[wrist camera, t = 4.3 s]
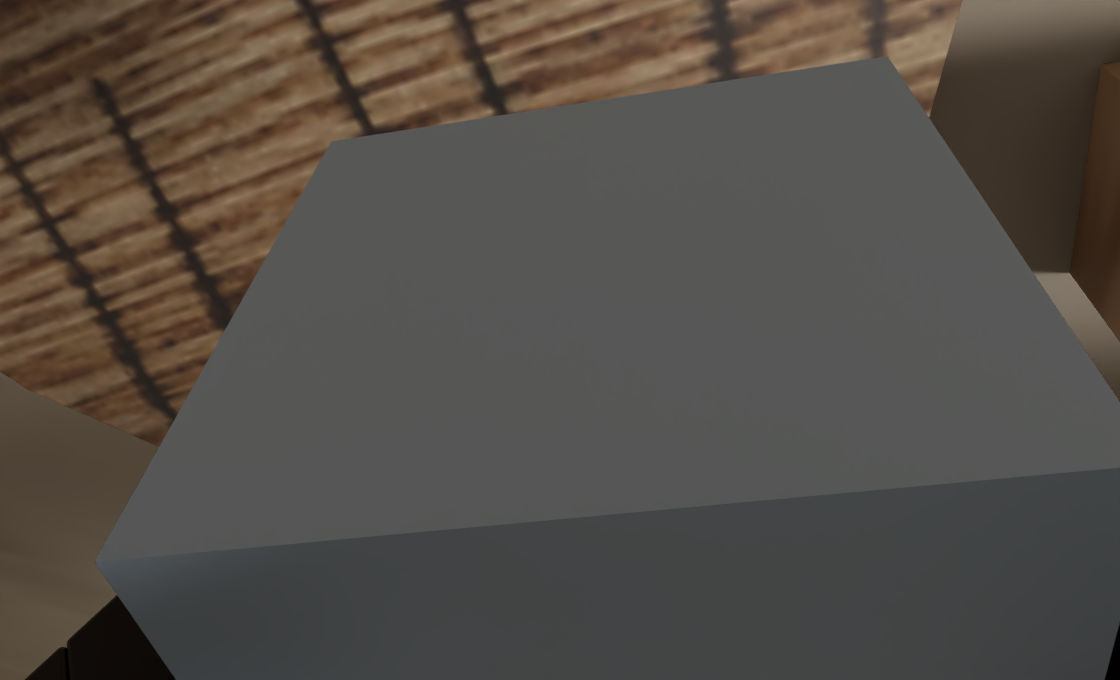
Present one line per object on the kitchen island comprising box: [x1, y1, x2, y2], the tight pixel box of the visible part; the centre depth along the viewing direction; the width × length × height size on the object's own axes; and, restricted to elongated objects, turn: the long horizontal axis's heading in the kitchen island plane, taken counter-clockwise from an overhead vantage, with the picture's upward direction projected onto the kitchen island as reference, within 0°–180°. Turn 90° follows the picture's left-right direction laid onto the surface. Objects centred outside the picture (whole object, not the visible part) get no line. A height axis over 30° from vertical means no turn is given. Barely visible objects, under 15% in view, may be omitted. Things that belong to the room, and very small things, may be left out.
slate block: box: [95, 56, 1120, 680], centre depth 8 cm, size 5×5×5 cm
